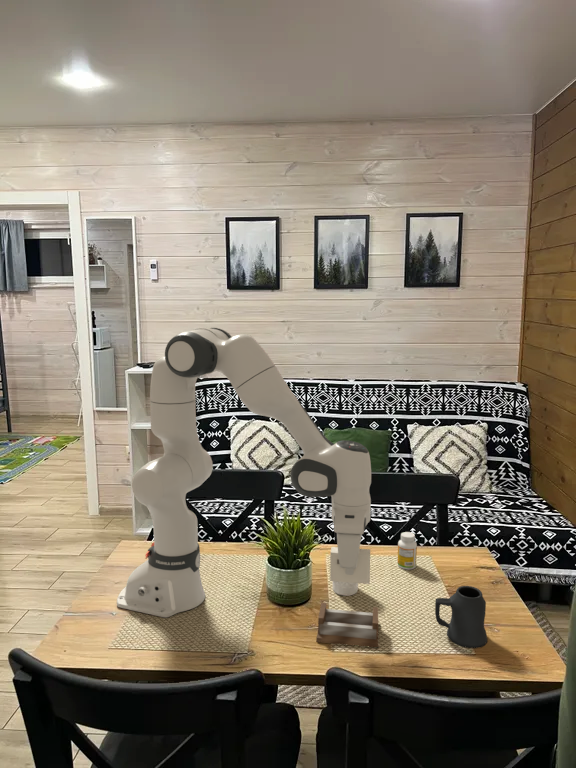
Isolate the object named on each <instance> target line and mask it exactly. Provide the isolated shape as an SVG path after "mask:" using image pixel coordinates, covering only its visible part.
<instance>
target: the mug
mask: <svg viewBox="0 0 576 768" xmlns="http://www.w3.org/2000/svg"><path fill="white" fill-rule="evenodd" d="M434 603H435V604H434V605H435V606H434V609H435V610H434V611H435V612H434V613H435V621H436V622H437V624H438V625H440V627H445V628H446V629H447V631H446V636H447V638H448V639H449V641H451V642H452V643H453V644H455V645H456V646H459V647H462V648H467V649H478V648H483V647H484V646H486V644H487V643H488V636H487V631H486V628H485V619H486V618H485V617H486V609H487V608H486V607H487V600H486V599H485V598H484V596H483V592H482V591H481V590H480V588H477V587H475V586H471V585H461V586H458V587H457V588H456V590H455V593H453V594H452V595H451V596H450V597H439V598H437V597H436V598H435V602H434ZM441 606H446V607H450V609H451V617H450V622H449V623H448V622H447V621H445V620H444V619H442V618H441V616H440V610H441V609H440V608H441Z"/></svg>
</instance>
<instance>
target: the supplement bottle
mask: <svg viewBox="0 0 576 768" xmlns="http://www.w3.org/2000/svg"><path fill="white" fill-rule="evenodd" d="M415 535H416V534H414V533H413V532H410V531H405V532H401V533H400V539H399V540H398V542H397V566H398V567H399V568H400V569H403V570H407V571H408V570H413V569H415V568H416V566H417V550H418V546H417V545H418V544H417V541H415V540H416V536H415Z"/></svg>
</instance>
